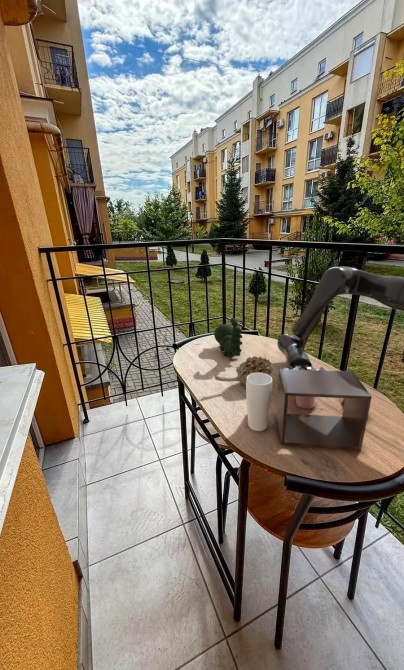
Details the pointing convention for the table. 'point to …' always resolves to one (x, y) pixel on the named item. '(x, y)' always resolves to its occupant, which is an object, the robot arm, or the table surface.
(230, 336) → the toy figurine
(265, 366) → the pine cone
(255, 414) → the drinking glass
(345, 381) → the cubby cabinet
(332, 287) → the robot arm
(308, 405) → the pink canister
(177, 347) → the table surface
